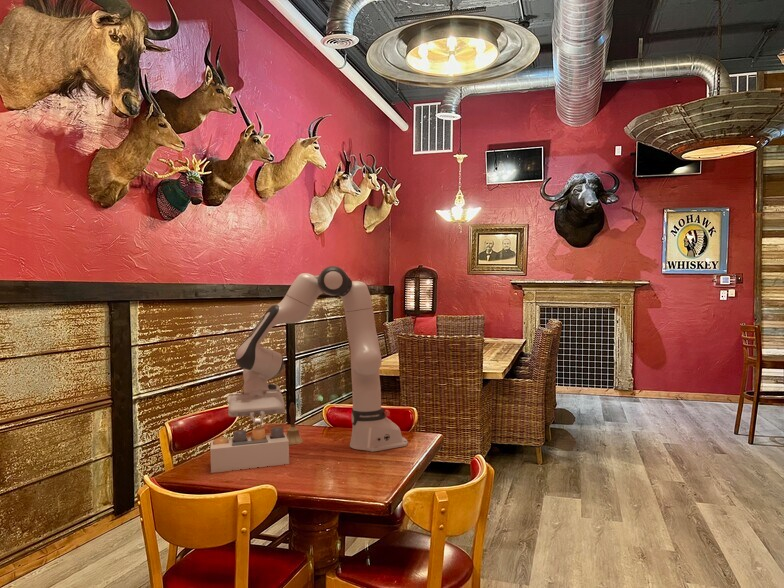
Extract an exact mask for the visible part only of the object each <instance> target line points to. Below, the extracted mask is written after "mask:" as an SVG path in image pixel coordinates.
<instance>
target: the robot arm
mask: <svg viewBox="0 0 784 588" xmlns="http://www.w3.org/2000/svg"><path fill="white" fill-rule="evenodd" d="M322 294H323V295H328V296H332V297H333V296H338V297H340V298H341V301H342V303H343V309H344V310H343V311H344V316H345V323H346V331H347V336H348V337H347V338H348V341H349V349H350V369H351V370H350V374H351V388H352V389H351V390H352V392H351V393H352V409H351V424H352V428H351V429H352V430H351V431H352V432H351V437H350V442H349V447H350V448H352V449H354V450H358V451H367V452H372V453H373V452H380V451H385V450H391V449H396V448H401V447H407V446H409V445H408V444H409V442H408V439H407V438H405V437H404V436H402V435H403V434H402V431H401V429H400V427H399V426H398V425H397V424H396V423H395V422H393V421H392V420H391V419H390V418H388V417H389V416H390V410H388V409H385V408H383V407H382V391H381V390H382V389H381V388H382V387H381V379H380V378H381V377H380V368H381V366H382V353H381V347H380V343H379V337H378V333H377V329H376V321H375V320H376V319H375V313H374V307H373V301H372V297H371V294H370V291H369V287H368V285H367V284H366V283H365V282H364V281H360V280H353V281H352V279H351V278H350V277H349V275H348V274H347V273H346V271H345V270H343V269H342V268H341V267H339V266H335V265H333V266H332V265H331V266H327V267H325V268H324V269H323V270H322V271H321V272H320V273H319V274H318V275H314V274H311V273H308V272H304V273H303V272H302V273H300V274H298V275H297V277H296V278H295V280H294V281H293V282H292V283H291V285H290V287H289V289H288V290H287V292H286V294H285V295H284V297H283V298H282V300H281V301H279V302H278V303H277V304H275V305H271V306H270V307H269V308H268V309H267V310H266V312H265V313H264V314H263V316H262V317H261V318H260V320H259V321H258V322H257V323H256V325H255V327H253V329H252V330H251V332H250V334H249V335H248V336H247V338H246V339H245V340H244V341H243V342H241V344H240V345H238V346H239V347H238V348H237V350H236V352H235V355H234V358H235V362H236V364H237V366H238V367H239V368H240V369H242V378H243V381H244V383H243V392H238V393H235V392H232V393H231V394H229V395H228V396H227V397H226V402H227V404H228V409H227V413H228V416H229V417H230V418H237V417H249V418H250V421H252V422H253V423H252V424H253V426H259V425H263V422H262V421H263V420H264V418H265V415H277V414H283V413H284V412H285V411H286V410H285V409H286V404H285V399H284V394H282V393H281V389H280V385H278V384H272V383H269V382H268V380H272V379H274V378H275V377H277V376H278V375H280V373H281V372H282V371H283V369H284V361H285V360H284V357H283V355H282V353H280V352H278V351H275V350H273V349H269V348H267V347H264V346H262V345H261V343H262V342H263V341H264V339H265V338H266V336H267V335H268V334H269V332H270V330H271V329H273V327H276V326H277V325H281V324H297V323H300V322H303V321H304V320H306V318H307V317H308V315H309V314H310V313H311V311H312V308H313V306H314V304H315V302H316V300H317V299H318V297H319V296H320V295H322ZM255 416H259V418H256V417H255Z"/></svg>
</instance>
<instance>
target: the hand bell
mask: <svg viewBox="0 0 784 588" xmlns="http://www.w3.org/2000/svg"><path fill="white" fill-rule="evenodd" d="M288 413H289V417H290V427H288V428H287V429H286V430H287V431H286V436H287V438H288V441H289V446H295V445H294V444H297V445H300V444H299V443H301V444H303V443H304V439H303V438H302V437H301V435H300V431H299V430H300V429H299V428H298V427H296V419H295V418H296V415H297V411H296V405H295V403H294V402H290V404H289V409H288ZM302 442H303V443H302Z"/></svg>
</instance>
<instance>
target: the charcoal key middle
mask: <svg viewBox="0 0 784 588" xmlns="http://www.w3.org/2000/svg"><path fill="white" fill-rule="evenodd" d="M246 437H247V430H245V429H239V430H234V431H233V434H232V438H233V439H234V442H244V441H246Z"/></svg>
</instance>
